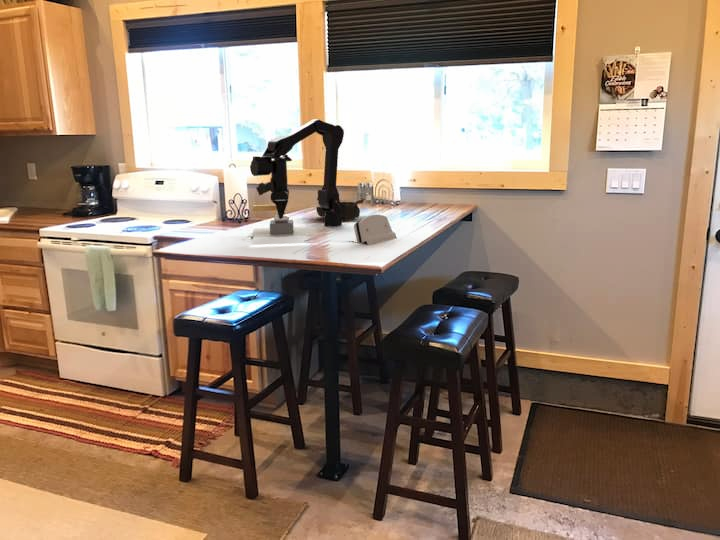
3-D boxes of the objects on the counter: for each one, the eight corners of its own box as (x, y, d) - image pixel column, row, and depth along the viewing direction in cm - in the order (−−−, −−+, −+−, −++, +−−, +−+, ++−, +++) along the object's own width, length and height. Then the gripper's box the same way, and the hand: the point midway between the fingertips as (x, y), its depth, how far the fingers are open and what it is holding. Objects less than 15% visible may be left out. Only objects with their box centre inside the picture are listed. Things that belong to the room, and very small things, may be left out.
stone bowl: (367, 221, 249) (364, 199, 247) (307, 227, 250) (305, 205, 248) (367, 212, 273) (365, 192, 271) (313, 217, 274) (310, 197, 272)
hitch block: (316, 229, 235) (315, 208, 233) (317, 236, 218) (316, 215, 216) (254, 231, 232) (253, 210, 230) (251, 239, 216) (249, 217, 214)
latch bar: (285, 209, 231) (285, 204, 231) (285, 210, 229) (284, 205, 228) (253, 210, 230) (252, 205, 230) (252, 211, 228) (252, 206, 227)
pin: (289, 230, 226) (288, 213, 224) (289, 233, 221) (288, 215, 219) (275, 231, 225) (274, 214, 224) (274, 233, 220) (273, 216, 219)
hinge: (368, 245, 202) (359, 216, 202) (358, 248, 205) (349, 220, 205) (397, 237, 214) (389, 210, 214) (387, 240, 217) (379, 214, 217)
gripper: (258, 172, 226) (260, 213, 230) (255, 176, 208) (257, 221, 212) (288, 172, 227) (289, 213, 231) (287, 176, 209) (289, 220, 213)
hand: (281, 216), depth 222 cm, fingers open, 9 cm apart
